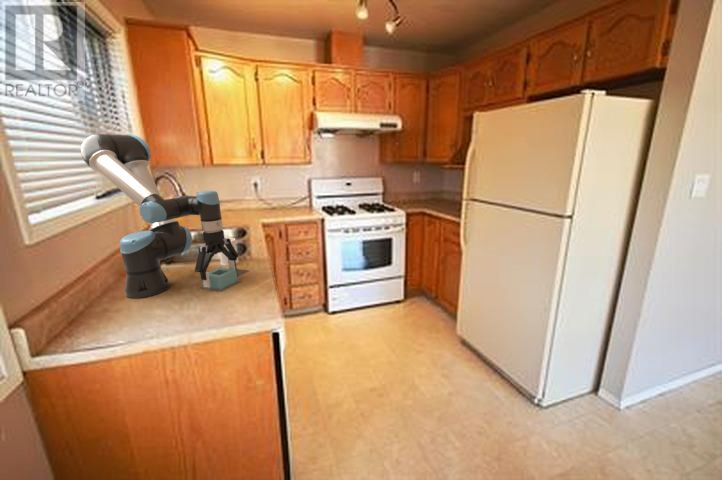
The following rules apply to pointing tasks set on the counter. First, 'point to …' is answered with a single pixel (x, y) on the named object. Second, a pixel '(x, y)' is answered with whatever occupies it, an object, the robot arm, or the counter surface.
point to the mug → (222, 257)
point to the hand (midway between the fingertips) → (220, 280)
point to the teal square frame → (222, 277)
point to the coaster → (221, 289)
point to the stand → (240, 270)
